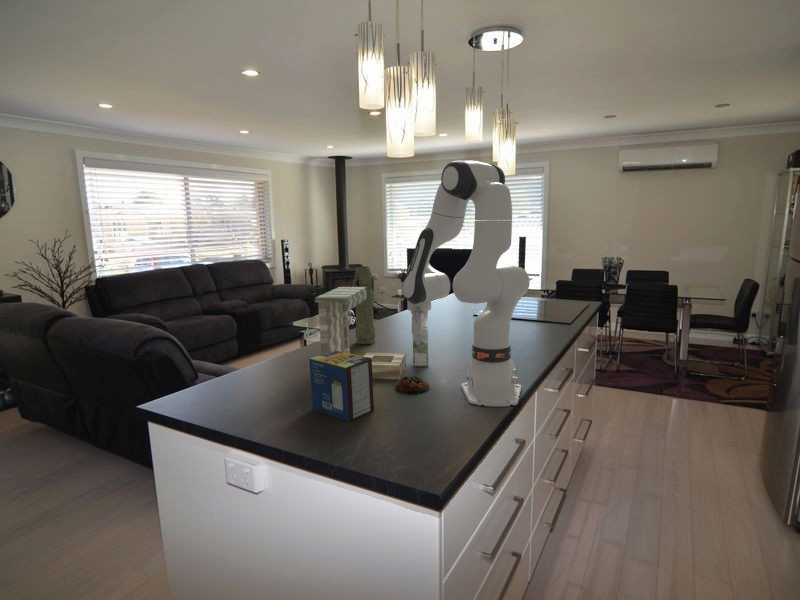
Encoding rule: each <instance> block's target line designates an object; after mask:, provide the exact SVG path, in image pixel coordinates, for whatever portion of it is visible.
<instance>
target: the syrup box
mask: <svg viewBox="0 0 800 600" xmlns="http://www.w3.org/2000/svg"><path fill="white" fill-rule="evenodd" d="M429 357H430V356H429V326H427V325H425V327H424V330H423V332H422V335H421V344H420V345H416V340H415V335H412V363H413V365H412V366H413V367H429V363H430V362H429V361H430V360H429Z"/></svg>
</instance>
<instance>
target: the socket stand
mask: <svg viewBox="0 0 800 600" xmlns="http://www.w3.org/2000/svg"><path fill="white" fill-rule="evenodd" d="M365 299H367V287H353V286H338V287H336V288H334V289H331V290H329V291H327V292H324V293H323V294H320V295H317V296H316V297H314V302H315V303H318V304H317V305H318V323H319V324H318V325H319V340H320V341H319V342H320V355H322V354H325V353H329V352H332V351H335V350H336V351H340V352H345V353H350V354H351V351H350V335H349V333H350V332H349V311H350V310H352V309H354V308H356V307H355V306H356V305H358V304H359V303H361V302H362V301H364V300H365ZM363 356H364V357H369V358H372V377H373V379H374V380H377V379H378V380H401V379H402V375H403V373H404V371H405V369H406V366H407V365H406V364H407V363H406V362H407V357H406V353H404V352H403V353H399V352H398V353H397V352H366V353H365V354H364V355H363Z"/></svg>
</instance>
